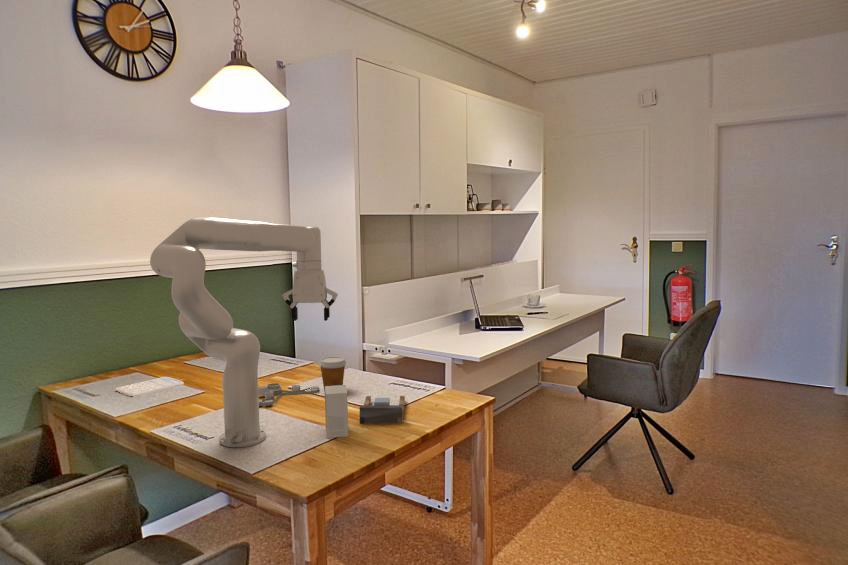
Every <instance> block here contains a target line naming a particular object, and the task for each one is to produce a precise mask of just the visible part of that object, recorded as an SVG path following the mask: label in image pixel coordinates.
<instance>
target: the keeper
mask: <svg viewBox="0 0 848 565" xmlns="http://www.w3.org/2000/svg"><path fill="white" fill-rule="evenodd" d="M390 403H391V402H390V397H374V404H373V405H390Z"/></svg>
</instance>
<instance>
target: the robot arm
mask: <svg viewBox="0 0 848 565" xmlns="http://www.w3.org/2000/svg"><path fill="white" fill-rule="evenodd" d="M321 236H322V234H321V229H320V227H318V226H303V225H293V224H292V225H291V224H282V223H281V224H279V223H269V222H264V221H256V220H244V219H243V220H242V219H233V218H222V217H193V218H190V219H188V220H187V221H185V222H184V223H182V224H181V225H180V226H179V227H177V229H175V230H174V231H173V232H171V234H170V235H169V236H167V237H166V238H165V239H164V240H163V241H162V242H160V243H159V244H158V245H157V246H156V247H155V248H154V249H153V251H152V252H151V255H150V257H149V259H150V260H149V263H150V264H149V265H150V267H151V269H152V271H153V272H154V273H155V274H157V275H158V276H160V277H164V278H170V279H172V280H171V299H172V302H173V304H174V306H175V308H176V309H177V310H178V312H179V314H178V326H179V328H180V330H181V332H182V333H183V334H184V335H185V336H186V337H187V338H188V339H189V341H191V342H192V343H193V344H194V345H195V346H196V347H198V348H199V349H200V350H201V351H202V352H203V353H204V354H205V355H207V356H208V357H209V358H212V359H215V360H218V361H222V362H226V364H225V366H224V367H225V369H224V371H223V373H222V379H221V380H222V381H221V382H222V386H221V387H222V398H223V399H222V400H223V419H224V420H223V421H224V424H223V425H224V432H223V433H222V434H221V435H220V436H219V437H218V438H219V444H220V445H222V446H224V447H226V448H227V447H229V448H243V447H249V446H250V447H251V446H253V445H254V446H255V445H256V444H260V443H261V442H262V441H264V440H265V439H266V438H267V437H266V436H267V435H266V431H265V430H264V429H262V428H260V426H261V425H260V407H259V395H258V387H259V380H258V375H259V374H258V373H259V372H258V369H259V368H258V367H259V360H260V353H261V343H260V341H259V338H258V337H257V336H256V335H255V333H253V332H251V331H249V330H245V329H243V328H241V329H240V328H235V327H234V321H233V317H232V316H231V314H230V313H229V312H228V310H227V309H225V307H224V306H222V305H221V304H220V302H219V301H218V300H217V299H216V298H215V297H214V296H213V295H212V294H211V293H210V291H208V290H207V287H206V286H205V282H204V279H205V273H206V265H207V264H206V263H207V262H206V259H205V258H206V257H205V255H204V254H203V252H202V251H201V250H215V251H237V252H238V251H240V252H295V253H296V261H295V262H292V263H291V264H292V267H293V268H295V269H296V270H294V272H293V280H292V281H293V282H292V288H291V289H290V290H288V291H286V292H284V293H282V295H281V296H282V298H283V300H284V301H285V303H286V304H287V305H288V306H289V307H290V309H291V319H292V320H293V321H295V322H296V321H297V320H299V318H298V317H299V316H298V307H297V305H298V304H315V303H317V304H320V303H321V304H322V305H323V306H324V308H323V318H324V319H323V321H325V322H326V321H328V320H329V318H330V316H331V313H330V312H331V311H330V310H331V309H330V307H331V306H332V305H333V304H334V303H335V302H336V300H337V298H338V295H339V294H338V292H336V291H333V290H332V289H330V288H327V281H326V280H327V279H326V275H325V271H324V269H323V268H322V241H321V240H322V237H321ZM290 295H292V300H291V299H290V297H289V296H290ZM327 295H330V296H331V299H330V300H329V301H328V298H327V297H328V296H327Z"/></svg>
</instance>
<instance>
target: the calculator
mask: <svg viewBox="0 0 848 565" xmlns="http://www.w3.org/2000/svg"><path fill="white" fill-rule="evenodd" d="M184 383H185V382H184V381H182V380H180V379H177V378H174V377H170V376H161V377H157V378H153V379H148V380H144V381H140V382H135V383H134V382H133V383H130V384H127V385H122V386H118V387H116V388H115V392H116V391H118V392H117V393H119V392H120V393H119V394H121V393H123V394H122V395H124V394H125V395H124V396H126V395H128V396H127V397H129V396H137V395H141V394H145V395H147V394H146V393H149V394H151V393H150V392H153V393H155V392H154V391H157V392H159V391H158V390H161V391H163V390H162V389H165V388H169V389H171V388H170V387H173V388H175V387H174V386H177V385H181V386H183V385H184ZM177 387H178V386H177ZM165 390H166V389H165ZM141 396H142V395H141ZM137 397H138V396H137Z"/></svg>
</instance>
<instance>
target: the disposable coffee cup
mask: <svg viewBox="0 0 848 565" xmlns="http://www.w3.org/2000/svg"><path fill="white" fill-rule="evenodd" d="M318 364H319V367H320V373H321V378H322V384H323V391H324V393H325V386H336V385H344V375H345V367H346V364H347V361H346V358H344V357H342V356H326V357H323V358H321V359H320V360H319V363H318Z"/></svg>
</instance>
